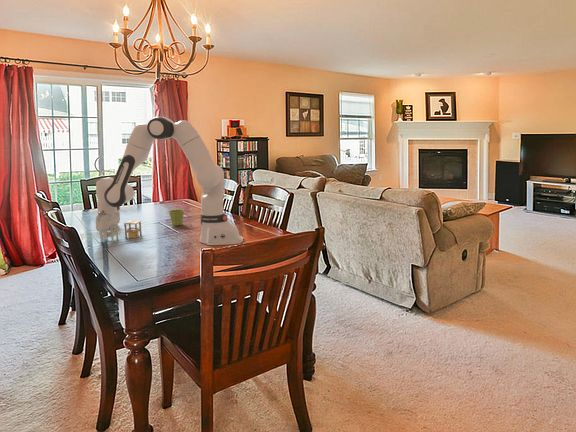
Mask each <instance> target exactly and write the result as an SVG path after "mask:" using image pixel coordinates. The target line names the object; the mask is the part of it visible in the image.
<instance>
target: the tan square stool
mask: <svg viewBox="0 0 576 432" xmlns="http://www.w3.org/2000/svg"><path fill="white" fill-rule="evenodd" d="M137 224H138V225H137ZM127 225H128V228H127ZM132 225H134V227H132ZM123 226H124V237H125V239H128V233H136V238H135V239H138V237H140V236H143V235H142V234H143V233H142V222H141V220H128V221H125V222H124V223H123ZM130 229H135V230H130ZM137 232H138V233H139V236H138V235H137Z"/></svg>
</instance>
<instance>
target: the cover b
mask: <svg viewBox="0 0 576 432" xmlns="http://www.w3.org/2000/svg"><path fill="white" fill-rule="evenodd" d="M113 227H115V231H113ZM108 229H110V230H107V231H106V232H107V234H108V237H107V238H105V240H109V238H110V239H111V243H114V242H115V241H114V237H115V238H116V240H119V229H118V227H117V224H114V225H112V226H110V227H109V228H108ZM99 237H100V238H99V239H100V243H103V242H104V241H103V238H104V237H103V233H102V231H99Z"/></svg>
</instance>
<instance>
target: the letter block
mask: <svg viewBox="0 0 576 432" xmlns="http://www.w3.org/2000/svg"><path fill="white" fill-rule="evenodd" d="M130 230H135V229H130ZM137 235H138V237H140V232H137ZM128 238H133V239H137V238H136V233H127V239H128Z"/></svg>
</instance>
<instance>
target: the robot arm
mask: <svg viewBox="0 0 576 432" xmlns="http://www.w3.org/2000/svg"><path fill="white" fill-rule="evenodd" d="M171 139H174V140H175V141H176V142H177V144H178V145H179V147H180V148H181V149H180V150H182V152H183V153H184V155H185V156H186V159H187V160H188V162H189V164H190V167H191V169H192V171H193V174H194V176H195V178H196V182H197V184H198V185H199V186H200V187H201V188H202V189H201V197H200V208H201V209H200V210H201V214H200V226H201V229H200V236H199V240H198V241H199V243H201V244H204V245H206V246H221V245H222V246H225V245H239V244H241V243H243V242H244V240H243V239H244V236H242V235H240V232H239V228H238V227H237V226H236V225H234V224H233V223H231V222H230V221H229V220H228V214H226V213H224V190H225V189H224V188H225V187H224V186H225V172H224V169H223V168H222V167H221V166H220V165H218V164H216V163H214V161H213V159H212V156H211V154H210V151H209V149H208V147H207V146H206V144H205V141H204V140H203V139H202V137H201V135H200V134H199V132H198V131H197V130H196V128H195V127H194V126H193V125H192V123H191V122H189V120H185V119H184V120H179V121H177V122H176V121H174V120H173V119H171V118H169V117H166V116H155V117H152V118H150V119H149V121H147V124H146V123H137V124H136V125H135V126H134V128H133V130H132V131H131V133H130V136H129V138H128V141H127V144H126V148H125V150H124V153H123V155H122V158H121V161H120V163H119V166H118V169H117V170H116V173H115V176H114V178H113V177H110V176H108V177H103V178H100V179H99V178H98V180H96V181H95V182H96V183H95V195H96V199H97V203H96V206H97V214H96V217H95V230H96V231H97V232H100V231H102V233H103V237H102V238H105V239H106V238H107V237H108V234H107V232H106V231H108V229H110V228H109V227H110V226H112V225H114V224H118V225H119V224H120V222H121V213H120V210H121V206H122V205H124V204H127V203H128V202H131V200H133V199H134V196H135V189H134V187H132V185H131V184H128V183H129V180H130V178H131V175H132V174H133V172H134V171H135V170H136V168H138V167H139V166H141V165H142V164H144V163H145V161H146V160H147V158H148V157H149V155H150V152H151V148H152V147H153V144H154V141H156V140H161V141H166V140H171ZM113 231H116V227H113ZM108 238H109V237H108Z"/></svg>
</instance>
